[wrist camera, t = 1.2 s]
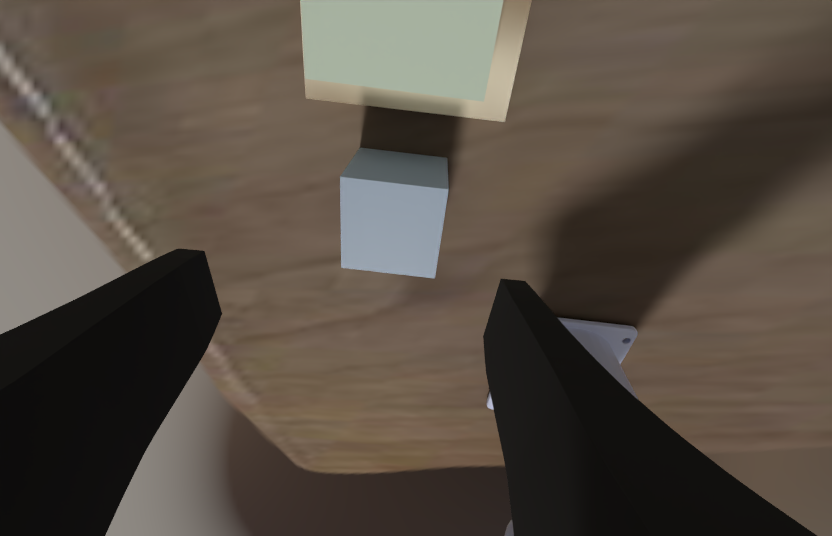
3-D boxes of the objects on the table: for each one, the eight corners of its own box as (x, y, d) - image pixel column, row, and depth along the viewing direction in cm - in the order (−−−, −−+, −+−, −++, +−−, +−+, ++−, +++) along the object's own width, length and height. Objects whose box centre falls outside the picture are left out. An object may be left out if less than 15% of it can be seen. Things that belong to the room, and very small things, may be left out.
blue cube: (436, 234, 22) (434, 278, 18) (358, 225, 21) (341, 267, 18) (447, 157, 19) (448, 189, 15) (360, 147, 19) (340, 176, 15)
